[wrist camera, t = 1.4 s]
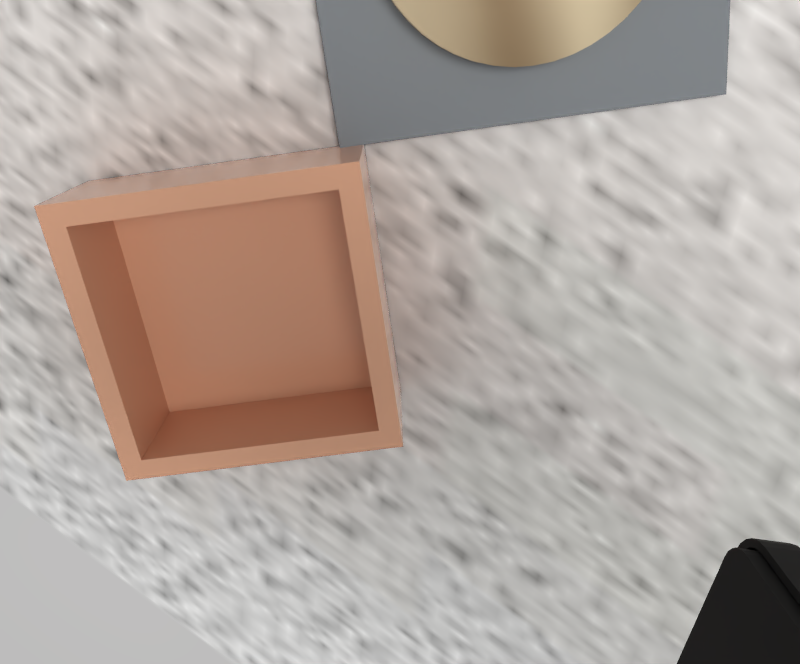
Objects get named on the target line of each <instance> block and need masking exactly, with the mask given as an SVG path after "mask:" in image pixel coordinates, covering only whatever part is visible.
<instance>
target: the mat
mask: <svg viewBox="0 0 800 664" xmlns="http://www.w3.org/2000/svg"><path fill="white" fill-rule="evenodd" d="M316 5H317V11H318V17H319V23H320V30H321V36H322V42H323V48H324V54H325V60H326V67H327V73H328V79H329V85H330V91H331V97H332V104H333V110H334V116H335V122H336V128H337V134H338V140H339V147H340V148H343V147H350V146H357V145H364V144H371V143H379V142H386V141H393V140H400V139H407V138H415V137H422V136H429V135H436V134H443V133H451V132H458V131H465V130H472V129H479V128H487V127H494V126H501V125H508V124H515V123H522V122H530V121H537V120H544V119H551V118H558V117H566V116H573V115H580V114H587V113H594V112H602V111H609V110H616V109H623V108H630V107H638V106H645V105H652V104H659V103H666V102H674V101H681V100H688V99H695V98H702V97H710V96H717V95H724V94H726V85H727V62H728V39H729V16H730V0H641V2H640V3H639V4H638V5H637V6H636V7H635V8H634V9H633V11H632V12H631V13H630V14H629V15H628V16H627V17H626V18H625V19H624V20H623V21H622V22H621V23H620V24H618V25H617V26H616V27H615V28H614V29H613V30H612V31H611V32H609V33H608V34H607V35H605V36H604V37H602V38H601V39H599V40H598V41H596V42H595V43H593V44H592V45H590V46H588V47H586V48H584V49H582V50H581V51H579V52H577V53H575V54H573V55H570V56H567V57H564V58H562V59H559V60H556V61H553V62H549V63H544V64H539V65H535V66H523V67H505V66H493V65H488V64H483V63H479V62H474V61H470V60H468V59H465V58H462V57H459V56H457V55H454V54H452V53H450V52H448V51H446V50H445V49H443V48H441V47H439V46H437V45H436V44H434V43H433V42H432V41H430V40H429V39H427V38H426V37H425V36H423V35H422V34H421V33H420V32H419V31H418V30H417V29H416V28H415V27H413V26H412V25H411V24H410V23H409V22H408V21H407V20H406V18H405V17H404V16H403V15H402V13H401V12H400V11H399V10H398V9H397V7H396V6H395V5H394V3H393V2H392V0H316Z"/></svg>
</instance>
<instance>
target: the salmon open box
mask: <svg viewBox="0 0 800 664" xmlns="http://www.w3.org/2000/svg"><path fill="white" fill-rule="evenodd" d="M34 207H35V210H36V213H37V216H38V219H39V222H40V225H41V228H42V231H43V234H44V237H45V240H46V243H47V246H48V249H49V252H50V255H51V258H52V261H53V264H54V267H55V269H56V272H57V275H58V278H59V281H60V284H61V287H62V290H63V293H64V296H65V299H66V302H67V305H68V308H69V311H70V314H71V317H72V320H73V323H74V326H75V329H76V332H77V335H78V338H79V341H80V344H81V347H82V350H83V353H84V356H85V359H86V362H87V365H88V368H89V371H90V374H91V376H92V379H93V382H94V385H95V388H96V391H97V394H98V397H99V400H100V403H101V406H102V409H103V412H104V415H105V418H106V421H107V424H108V427H109V430H110V433H111V436H112V439H113V442H114V445H115V448H116V451H117V454H118V457H119V460H120V463H121V466H122V469H123V472H124V475H125V478H126V481H127V480H135V479H143V478H151V477H159V476H167V475H176V474H184V473H192V472H200V471H208V470H216V469H224V468H232V467H240V466H249V465H257V464H265V463H273V462H281V461H289V460H297V459H305V458H313V457H322V456H330V455H338V454H346V453H354V452H362V451H370V450H378V449H386V448H395V447H403V432H402V406H401V389H400V382H399V375H398V369H397V362H396V355H395V349H394V342H393V335H392V328H391V322H390V315H389V308H388V301H387V295H386V288H385V281H384V275H383V268H382V261H381V254H380V248H379V241H378V234H377V228H376V221H375V214H374V207H373V201H372V194H371V187H370V181H369V174H368V167H367V160H366V154H365V147H364V145H357V146H350V147H343V148H340V147H339V146H337V147H329V148H322V149H315V150H308V151H301V152H293V153H286V154H279V155H272V156H265V157H257V158H250V159H243V160H236V161H229V162H222V163H214V164H207V165H200V166H193V167H186V168H178V169H171V170H164V171H157V172H150V173H142V174H135V175H128V176H121V177H114V178H106V179H99V180H92V181H87V182H85V183H83V184H81V185H79V186H77V187H74V188H72V189H70V190H68V191H66V192H64V193H61V194H59V195H57V196H55V197H53V198H51V199H49V200H46V201H44V202H42V203H40V204H38V205H36V206H34Z"/></svg>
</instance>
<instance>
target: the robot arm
mask: <svg viewBox="0 0 800 664" xmlns="http://www.w3.org/2000/svg"><path fill="white" fill-rule="evenodd" d="M677 664H800V548H799V547H798V546H796V545H793V544H790V543H783V542H775V541H768V540H761V539H753V538H751V539H746V540H744V541H743V542H742V543H740V545H739V547H738V548H732V549H731V550H729V551H728V552H727V554H726V556H725V557H724V560H723V562H722V564H721V566H720V569H719V571H718V573H717V575H716V578H715V580H714V582H713V584H712V586H711V589H710V591H709V593H708V595H707V598H706V600H705V602H704V604H703V607H702V609H701V611H700V613H699V615H698V618H697V620H696V622H695V624H694V627H693V629H692V631H691V633H690V635H689V638H688V640H687V642H686V644H685V647H684V649H683V651H682V653H681V656H680V658H679V660H678V662H677Z"/></svg>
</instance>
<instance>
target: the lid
mask: <svg viewBox="0 0 800 664" xmlns="http://www.w3.org/2000/svg"><path fill="white" fill-rule="evenodd" d="M392 2H393V3H394V5H395V6H396V7H397V9H398V10H399V11H400V12H401V13H402V15H403V16H404V17H405V18H406V20H407V21H408V22H409V23H410V24H411V25H412V26H413V27H415V28H416V29H417V30H418V31H419V32H420V33H421V34H422V35H423V36H425V37H426V38H427V39H429V40H430V41H432V42H433V43H434V44H436V45H437V46H439V47H441V48H443V49H445V50H446V51H448V52H450V53H452V54H454V55H457V56H459V57H462V58H465V59H468V60H470V61H474V62H479V63H483V64H488V65H493V66H505V67H523V66H535V65H539V64H544V63H549V62H553V61H556V60H559V59H562V58H564V57H567V56H570V55H573V54H575V53H577V52H579V51H581V50H582V49H584V48H586V47H588V46H590V45H592V44H593V43H595V42H596V41H598V40H599V39H601V38H602V37H604V36H605V35H607V34H608V33H609V32H611V31H612V30H613V29H614V28H615V27H616V26H617V25H618V24H620V23H621V22H622V21H623V20H624V19H625V18H626V17H627V16H628V15H629V14H630V13H631V12H632V11H633V9H634V8H635V7H636V6H637V5H638V4H639V3H640V2H641V0H392Z"/></svg>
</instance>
